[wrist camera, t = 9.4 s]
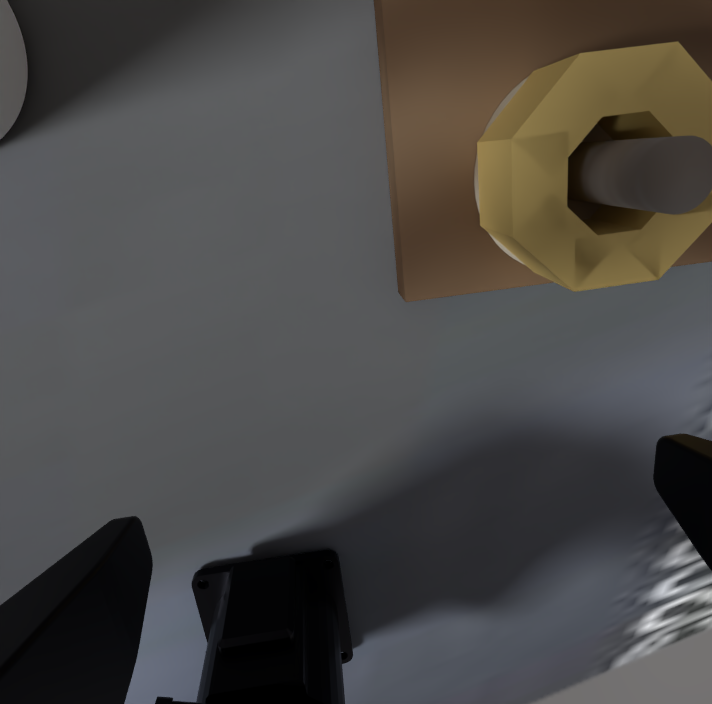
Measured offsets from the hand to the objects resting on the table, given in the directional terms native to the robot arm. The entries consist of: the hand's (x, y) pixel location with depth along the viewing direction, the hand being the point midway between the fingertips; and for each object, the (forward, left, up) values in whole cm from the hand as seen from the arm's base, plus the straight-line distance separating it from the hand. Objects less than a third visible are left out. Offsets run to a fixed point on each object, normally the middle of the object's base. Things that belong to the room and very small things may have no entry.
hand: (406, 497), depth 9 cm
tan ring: (+4, -8, -10) cm, 14 cm away
